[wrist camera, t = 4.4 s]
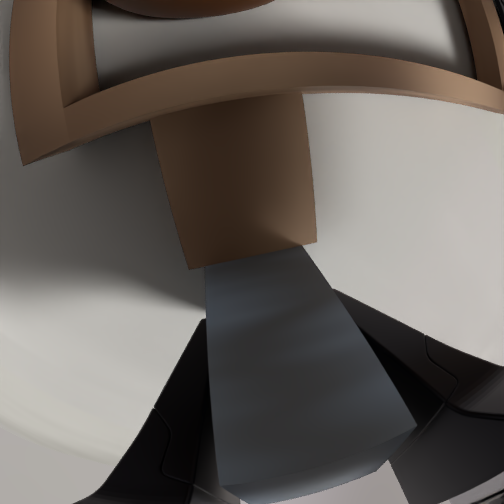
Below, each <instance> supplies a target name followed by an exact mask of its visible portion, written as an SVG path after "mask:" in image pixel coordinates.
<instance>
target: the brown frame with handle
mask: <svg viewBox="0 0 504 504" xmlns="http://www.w3.org/2000/svg"><path fill="white" fill-rule="evenodd" d="M458 1H459V4H460V7H461V10H462V13H463V16H464V19H465V23H466V26H467V30H468V34H469V38H470V42H471V47H472V51H473V56H474V62H475V67H476V74H477V80H478V81H477V80H474V79H471V78H469V77H466V76H463V75H460V74H456V73H453V72H450V71H446V70H443V69H439V68H435V67H431V66H427V65H423V64H419V63H414V62H409V61H404V60H399V59H393V58H386V57H379V56H372V55H363V54H352V53H338V52H277V53H262V54H252V55H242V56H234V57H227V58H221V59H215V60H209V61H204V62H198V63H194V64H189V65H184V66H180V67H176V68H172V69H168V70H164V71H160V72H157V73H153V74H150V75H147V76H143V77H140V78H137V79H134V80H131V81H128V82H125V83H122V84H119V85H117V86H114V87H111V88H109V89H106V90H104V91H101V92H100V88H99V82H98V75H97V67H96V59H95V50H94V39H93V24H92V0H14V2H13V9H12V17H11V27H10V45H9V72H10V90H11V101H12V110H13V117H14V124H15V130H16V136H17V141H18V146H19V151H20V155H21V160H22V164H23V166H25V165H27V164H30V163H33V162H35V161H38V160H41V159H44V158H47V157H50V156H53V155H56V154H59V153H62V152H66V151H69V150H71V149H73V148H75V147H78V146H80V145H83V144H85V143H87V142H90V141H92V140H95V139H97V138H100V137H103V136H105V135H108V134H111V133H114V132H116V131H119V130H122V129H125V128H128V127H131V126H134V125H137V124H141V123H144V122H147V121H150V123H151V128H152V133H153V137H154V142H155V146H156V151H157V155H158V159H159V164H160V168H161V172H162V176H163V180H164V184H165V188H166V192H167V196H168V199H169V203H170V207H171V211H172V214H173V218H174V221H175V225H176V228H177V232H178V235H179V239H180V242H181V245H182V249H183V252H184V255H185V259H186V262H187V265H188V268H189V270H190V269H195V268H200V267H204V266H205V295H206V327H207V349H208V367H209V383H210V397H211V410H212V421H213V432H214V442H215V452H216V461H217V469H218V477H219V485H220V486H221V487H222V488H224V489H225V490H227V491H228V492H230V493H231V494H233V495H235V496H236V497H238V498H240V499H241V500H243V501H245V502H246V503H248V504H269V503H275V502H280V501H285V500H289V499H294V498H298V497H302V496H306V495H310V494H313V493H317V492H320V491H323V490H327V489H330V488H333V487H336V486H339V485H342V484H345V483H348V482H350V481H353V480H356V479H358V478H361V477H363V476H366V475H368V474H370V473H373V472H375V471H377V470H378V469H379V468H380V467H381V466H382V465H383V463H385V462H386V461H387V460H388V459H389V458H390V456H391V455H392V454H393V453H394V452H395V451H396V450H397V449H398V448H399V447H400V445H401V444H402V443H403V442H404V441H405V440H406V439H407V437H408V436H409V435H410V434H411V433H412V431H413V430H414V429H415V428H416V426H417V424H416V422H415V420H414V419H413V417H412V415H411V413H410V412H409V410H408V408H407V406H406V405H405V403H404V401H403V399H402V398H401V396H400V394H399V393H398V391H397V389H396V388H395V386H394V384H393V383H392V381H391V379H390V378H389V376H388V374H387V373H386V371H385V369H384V368H383V366H382V365H381V363H380V361H379V360H378V358H377V356H376V355H375V353H374V352H373V350H372V349H371V347H370V345H369V344H368V342H367V341H366V339H365V338H364V336H363V334H362V333H361V331H360V330H359V328H358V327H357V325H356V324H355V322H354V321H353V319H352V318H351V316H350V314H349V313H348V311H347V310H346V308H345V307H344V305H343V304H342V302H341V301H340V299H339V298H338V297H337V295H336V294H335V292H334V291H333V289H332V288H331V286H330V285H329V283H328V282H327V280H326V279H325V277H324V276H323V275H322V273H321V272H320V270H319V269H318V267H317V266H316V265H315V263H314V262H313V260H312V259H311V257H310V256H309V255H308V253H307V252H306V250H305V249H304V248H303V246H302V245H306V244H311V243H315V242H317V232H316V216H315V202H314V190H313V179H312V168H311V159H310V149H309V141H308V133H307V125H306V117H305V110H304V103H303V97H302V94H312V93H374V94H390V95H402V96H411V97H420V98H427V99H434V100H440V101H446V102H452V103H457V104H462V105H467V106H471V107H475V108H480V109H484V110H487V111H491V112H495V113H500V114H504V35H503V31H502V28H501V24H500V21H499V18H498V15H497V12H496V9H495V6H494V3H493V1H492V0H458Z"/></svg>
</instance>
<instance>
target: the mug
mask: <svg viewBox="0 0 504 504" xmlns="http://www.w3.org/2000/svg"><path fill="white" fill-rule="evenodd" d="M106 1H107V2H109V3H110V4H113V5H115V6H117V7H120V8H122V9H124V10H127V11H130V12H133V13H137V14H141V15H147V16H152V17H163V18H203V17H211V16H220V15H226V14H232V13H237V12H241V11H245V10H249V9H253V8H256V7H259V6H262V5H265V4H267V3H270V2H272V1H274V0H106Z"/></svg>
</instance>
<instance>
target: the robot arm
mask: <svg viewBox="0 0 504 504" xmlns="http://www.w3.org/2000/svg"><path fill="white" fill-rule="evenodd" d="M495 2H496V5H497V8H498V11H499V14H500V17H501V20H502V23H503V26H504V0H495ZM333 291H334V292H335V294H336V295H337V297H338V298H339V299H340V301H341V302H342V304H343V305H344V307H345V308H346V310H347V311H348V313H349V314H350V316H351V318H352V319H353V321H354V322H355V324H356V325H357V327H358V328H359V330H360V331H361V333H362V334H363V336H364V338H365V339H366V341H367V342H368V344H369V345H370V347H371V349H372V350H373V352H374V353H375V355H376V356H377V358H378V360H379V361H380V363H381V365H382V366H383V368H384V369H385V371H386V373H387V374H388V376H389V378H390V379H391V381H392V383H393V384H394V386H395V388H396V389H397V391H398V393H399V394H400V396H401V398H402V399H403V401H404V403H405V405H406V406H407V408H408V410H409V412H410V413H411V415H412V417H413V419H414V420H415V422H416V424H417V426H416V428H415V429H414V430H413V431H412V433H411V434H410V435H409V436H408V437H407V439H406V440H405V441H404V442H403V443H402V444H401V445H400V447H399V448H398V449H397V450H396V451H395V452H394V453H393V454H392V455H391V456H390V458H389V459H388V460H389V462H390V464H391V467H392V469H393V471H394V473H395V475H396V477H397V479H398V481H399V483H400V485H401V488H402V489H403V492H404V494H405V496H406V498H407V500H408V503H409V504H439V503H441V502H444V501H446V500H450V503H451V504H504V366H500V365H496V364H494V363H491V362H488V361H486V360H483V359H480V358H478V357H475V356H472V355H470V354H467V353H465V352H462V351H460V350H457V349H455V348H453V347H450V346H448V345H446V344H444V343H442V342H440V341H437V340H435V339H433V338H431V337H429V336H428V335H425V336H424V334H423V333H421V332H419V331H417V330H415V329H413V328H411V327H410V326H408V325H406V324H404V323H402V322H400V321H398V320H396V319H394V318H392V317H390V316H388V315H386V314H384V313H382V312H380V311H378V310H376V309H374V308H372V307H370V306H368V305H366V304H364V303H362V302H360V301H358V300H356V299H354V298H352V297H350V296H348V295H346V294H344V293H342V292H340V291H338V290H336V289H333ZM154 408H155V409H154ZM154 408H153V409H152V410H151V412H150V414H149V416H148V418H147V420H146V421H145V423H144V425H143V427H142V428H141V430H140V432H139V433H138V435H137V437H136V438H135V440H134V441H133V443H132V444H131V446H130V447H129V449H128V450H127V451H126V453H125V454H124V456H123V457H122V459H121V460H120V461H119V463H118V464H117V466H116V467H115V468H114V470H113V471H112V473H111V474H110V475H109V477H108V478H107V480H106V481H105V482H104V484H103V485H102V486H101V487H100V488H99V489H98V490H97V491H95V492H94V493H93V494H91V495H90V496H88V497H86V498H84V499H82V500H80V501H78V502H76V503H73V504H240V498H238V497H236V496H235V495H233V494H231V493H230V492H228V491H227V490H225V489H224V488H222V487H221V486H220V485H219V477H218V469H217V461H216V452H215V442H214V432H213V421H212V410H211V397H210V383H209V367H208V349H207V327H206V318H205V319H202V320H201V321H200V323H199V324H198V326H197V328H196V330H195V332H194V333H193V335H192V337H191V339H190V341H189V343H188V344H187V346H186V348H185V350H184V352H183V353H182V355H181V357H180V359H179V361H178V363H177V364H176V366H175V368H174V370H173V372H172V374H171V375H170V377H169V379H168V381H167V383H166V385H165V386H164V388H163V390H162V392H161V394H160V396H159V398H158V399H157V401H156V403H155V405H154Z"/></svg>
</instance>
